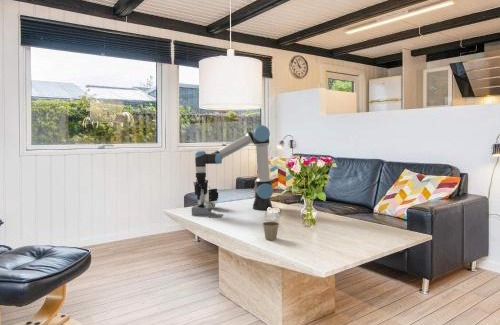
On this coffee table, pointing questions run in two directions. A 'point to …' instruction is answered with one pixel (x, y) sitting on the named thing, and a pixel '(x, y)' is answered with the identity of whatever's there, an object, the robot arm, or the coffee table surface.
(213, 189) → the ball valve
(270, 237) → the flower pot
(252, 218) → the coffee table surface
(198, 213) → the chuck
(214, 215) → the pad
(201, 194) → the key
